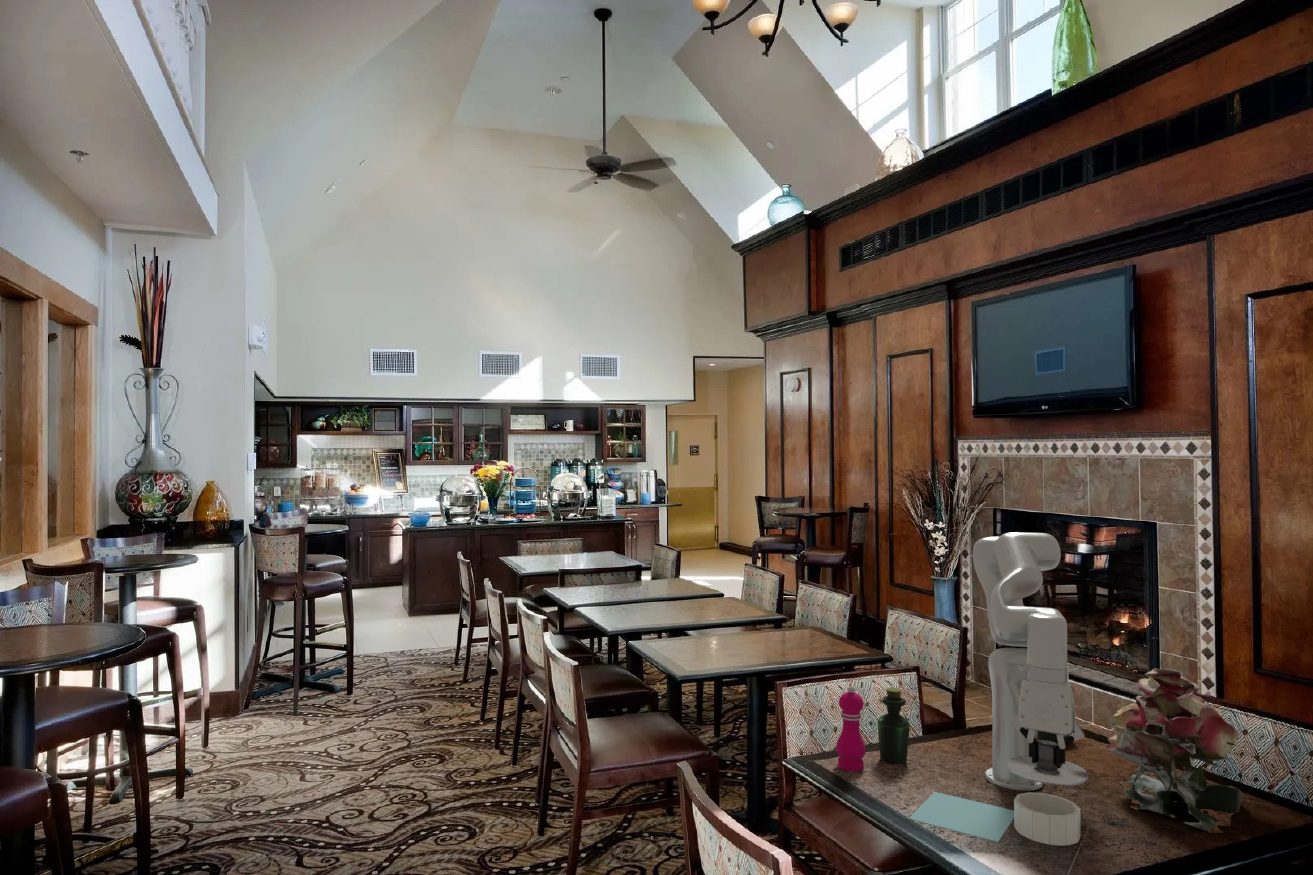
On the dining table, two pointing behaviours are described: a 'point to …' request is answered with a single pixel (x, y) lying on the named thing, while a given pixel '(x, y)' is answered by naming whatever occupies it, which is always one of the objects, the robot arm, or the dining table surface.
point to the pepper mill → (851, 732)
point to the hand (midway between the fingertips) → (1047, 762)
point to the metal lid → (1047, 767)
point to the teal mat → (964, 816)
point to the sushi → (1048, 736)
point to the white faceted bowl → (1047, 818)
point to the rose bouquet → (1174, 747)
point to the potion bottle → (893, 729)
